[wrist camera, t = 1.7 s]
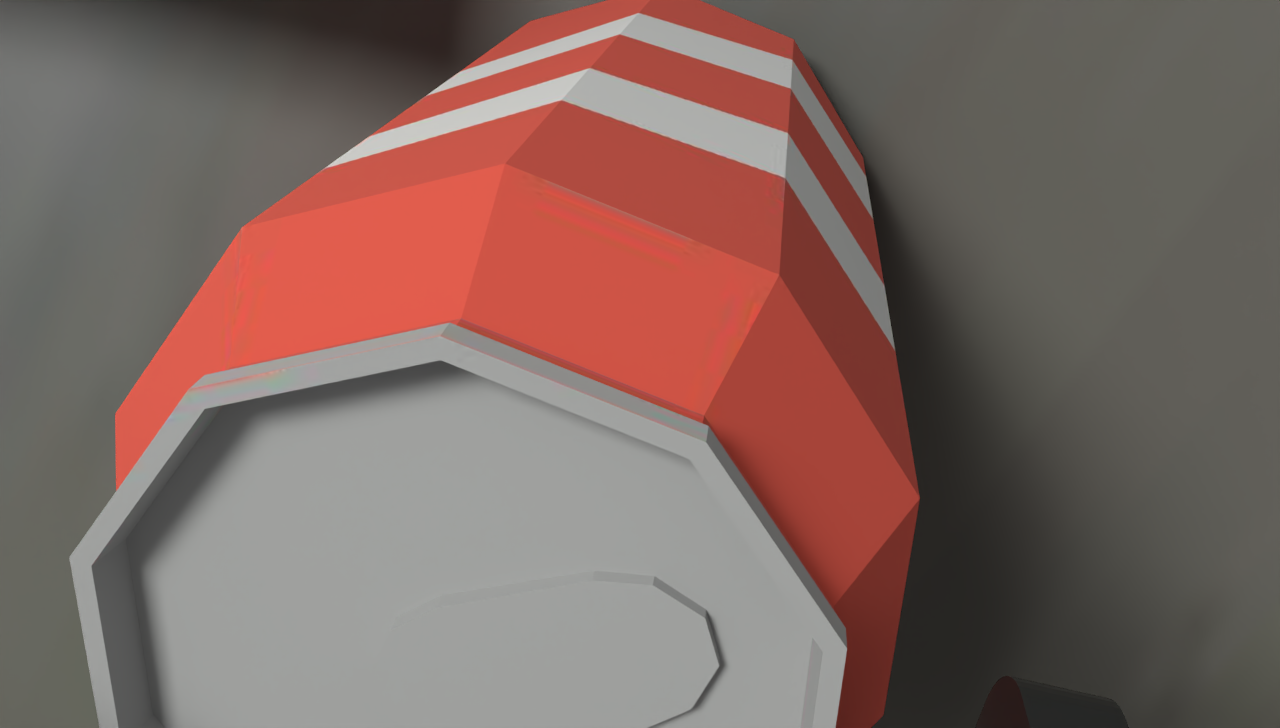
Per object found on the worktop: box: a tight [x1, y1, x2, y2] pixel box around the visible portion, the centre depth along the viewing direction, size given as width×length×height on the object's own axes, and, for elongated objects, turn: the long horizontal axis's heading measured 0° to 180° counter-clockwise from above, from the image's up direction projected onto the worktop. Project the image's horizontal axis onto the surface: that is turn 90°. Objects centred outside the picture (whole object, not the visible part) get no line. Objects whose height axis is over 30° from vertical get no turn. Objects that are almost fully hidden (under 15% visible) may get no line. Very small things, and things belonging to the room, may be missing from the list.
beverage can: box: [69, 0, 920, 728], centre depth 13 cm, size 6×6×12 cm
